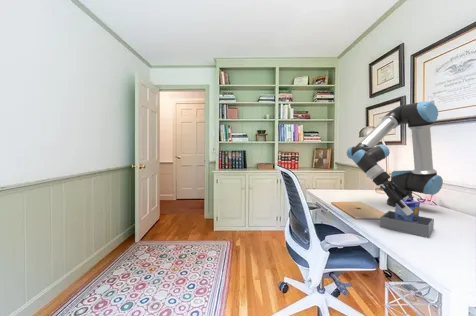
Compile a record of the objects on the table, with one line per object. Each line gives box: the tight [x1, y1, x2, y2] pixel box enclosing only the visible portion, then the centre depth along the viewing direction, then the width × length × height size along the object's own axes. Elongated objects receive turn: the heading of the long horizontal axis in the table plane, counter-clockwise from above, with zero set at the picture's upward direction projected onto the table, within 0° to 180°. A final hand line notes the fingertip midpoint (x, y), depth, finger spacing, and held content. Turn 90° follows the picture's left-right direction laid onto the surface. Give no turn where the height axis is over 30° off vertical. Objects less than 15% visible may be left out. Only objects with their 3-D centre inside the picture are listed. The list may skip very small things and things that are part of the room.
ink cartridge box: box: [394, 196, 421, 224], centre depth 109 cm, size 10×6×14 cm, turn 113°
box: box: [379, 210, 435, 239], centre depth 109 cm, size 15×18×5 cm
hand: (413, 211), depth 107 cm, fingers open, 13 cm apart
